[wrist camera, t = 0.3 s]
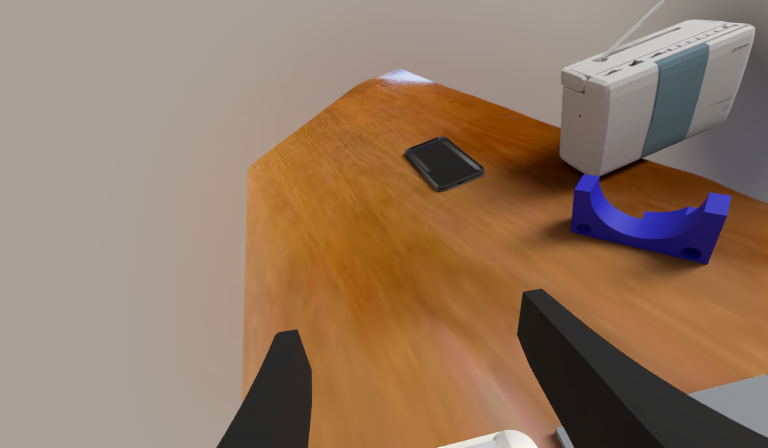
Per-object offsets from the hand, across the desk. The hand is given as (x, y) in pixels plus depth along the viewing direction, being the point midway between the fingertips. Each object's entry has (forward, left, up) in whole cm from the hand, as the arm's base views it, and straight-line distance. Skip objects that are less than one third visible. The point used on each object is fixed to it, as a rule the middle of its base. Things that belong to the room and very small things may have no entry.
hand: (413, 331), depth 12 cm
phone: (+45, -10, -21) cm, 51 cm away
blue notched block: (+20, -25, -21) cm, 38 cm away
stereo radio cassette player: (+35, -35, -21) cm, 54 cm away
